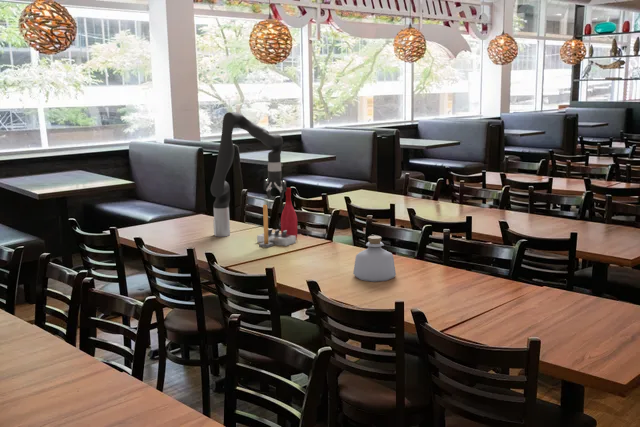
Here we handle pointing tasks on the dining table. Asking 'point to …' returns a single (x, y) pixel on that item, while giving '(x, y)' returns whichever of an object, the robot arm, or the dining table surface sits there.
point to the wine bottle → (289, 216)
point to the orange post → (265, 229)
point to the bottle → (374, 262)
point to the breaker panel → (278, 239)
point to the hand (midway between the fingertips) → (275, 198)
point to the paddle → (270, 231)
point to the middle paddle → (276, 232)
